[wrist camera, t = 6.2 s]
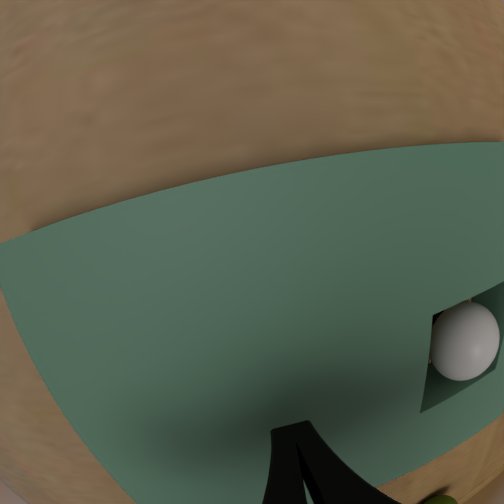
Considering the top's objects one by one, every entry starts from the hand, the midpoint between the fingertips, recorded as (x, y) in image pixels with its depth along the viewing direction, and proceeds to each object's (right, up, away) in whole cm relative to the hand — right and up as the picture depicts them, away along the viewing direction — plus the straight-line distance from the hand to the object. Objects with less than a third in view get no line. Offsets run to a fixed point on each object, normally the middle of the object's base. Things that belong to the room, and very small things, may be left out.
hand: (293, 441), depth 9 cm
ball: (+9, +2, +3) cm, 10 cm away
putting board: (+2, +2, +4) cm, 5 cm away
